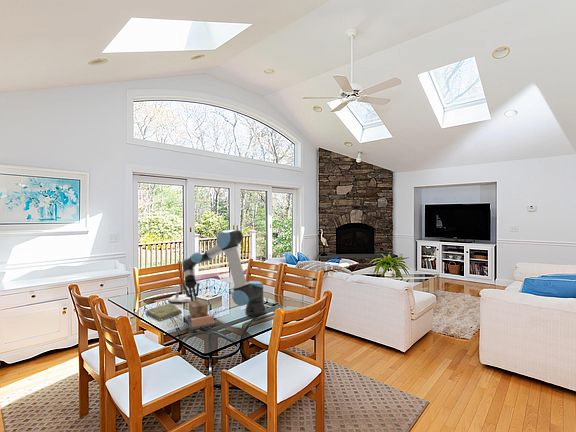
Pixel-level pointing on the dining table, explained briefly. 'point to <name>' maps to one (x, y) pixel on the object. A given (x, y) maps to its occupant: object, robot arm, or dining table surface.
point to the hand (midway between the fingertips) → (194, 304)
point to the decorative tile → (164, 311)
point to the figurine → (180, 297)
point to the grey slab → (200, 321)
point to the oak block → (197, 309)
